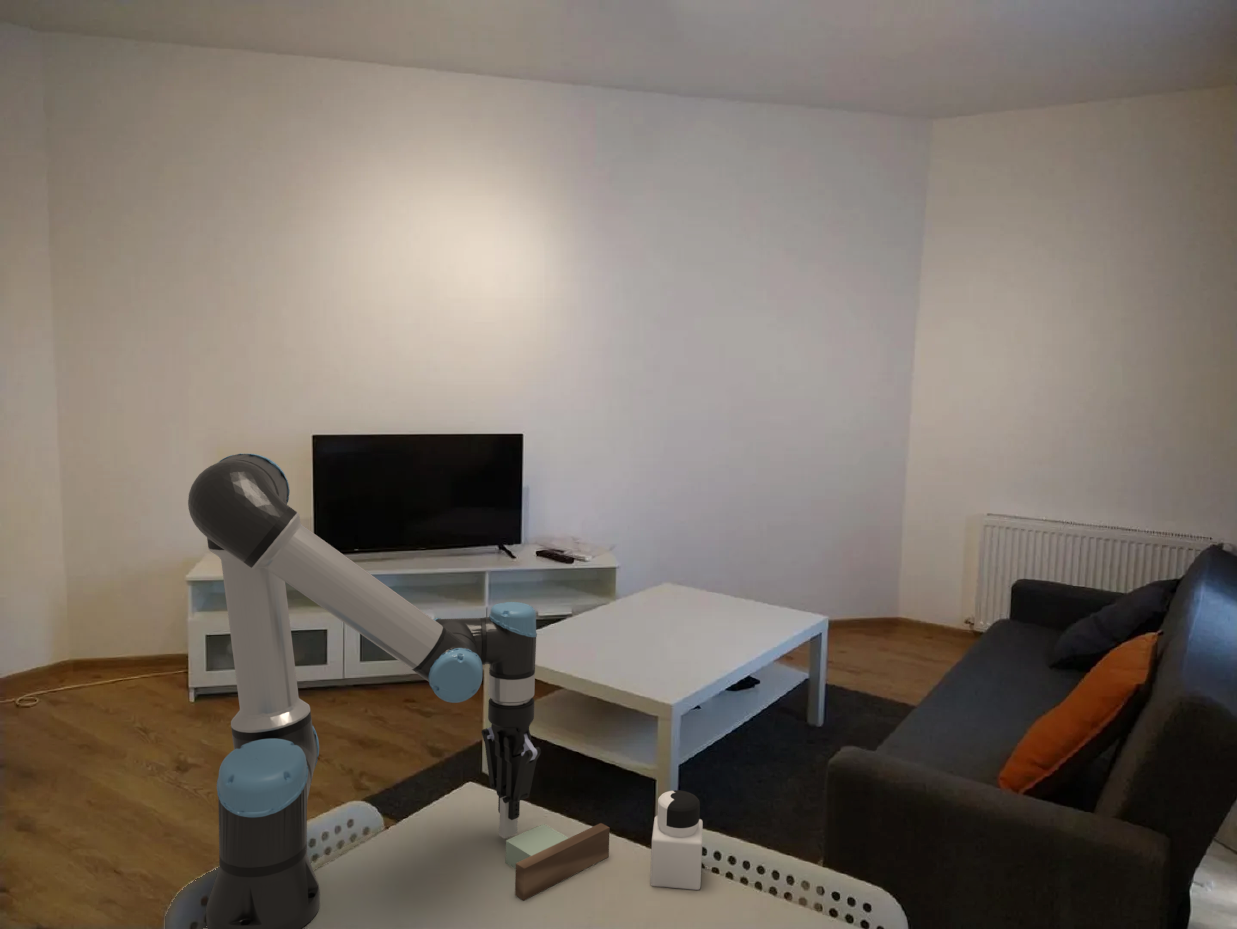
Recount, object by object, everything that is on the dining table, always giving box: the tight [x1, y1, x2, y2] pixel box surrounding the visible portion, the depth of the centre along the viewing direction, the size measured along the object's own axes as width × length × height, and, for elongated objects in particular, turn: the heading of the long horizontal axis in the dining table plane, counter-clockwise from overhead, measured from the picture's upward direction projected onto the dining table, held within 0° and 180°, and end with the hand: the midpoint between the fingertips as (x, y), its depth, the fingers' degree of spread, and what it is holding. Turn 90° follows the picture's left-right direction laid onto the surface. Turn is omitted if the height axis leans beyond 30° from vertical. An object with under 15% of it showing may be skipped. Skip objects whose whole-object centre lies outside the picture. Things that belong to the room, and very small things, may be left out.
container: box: [649, 789, 704, 891], centre depth 142 cm, size 8×8×13 cm
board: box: [514, 822, 611, 901], centre depth 141 cm, size 2×18×5 cm, turn 136°
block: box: [505, 823, 569, 870], centre depth 144 cm, size 8×8×4 cm
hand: (508, 834), depth 150 cm, fingers closed
